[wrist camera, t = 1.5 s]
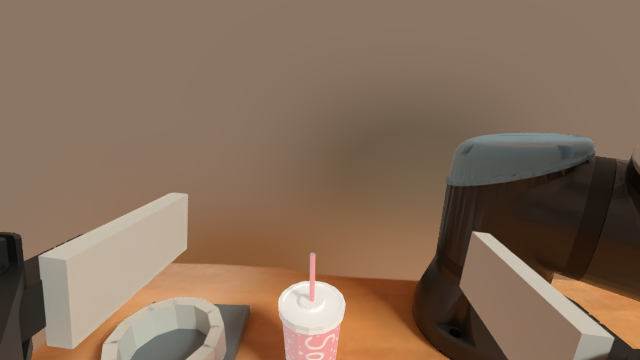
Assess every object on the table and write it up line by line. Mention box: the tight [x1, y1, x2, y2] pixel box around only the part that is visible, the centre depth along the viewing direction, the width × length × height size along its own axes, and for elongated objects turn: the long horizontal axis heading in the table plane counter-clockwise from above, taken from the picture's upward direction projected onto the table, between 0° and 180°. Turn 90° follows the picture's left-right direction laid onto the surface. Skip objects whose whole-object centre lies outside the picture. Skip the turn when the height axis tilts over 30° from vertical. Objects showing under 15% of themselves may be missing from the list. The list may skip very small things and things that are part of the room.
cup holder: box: [101, 297, 250, 360], centre depth 31 cm, size 12×16×4 cm
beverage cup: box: [278, 253, 345, 360], centre depth 29 cm, size 6×6×14 cm
